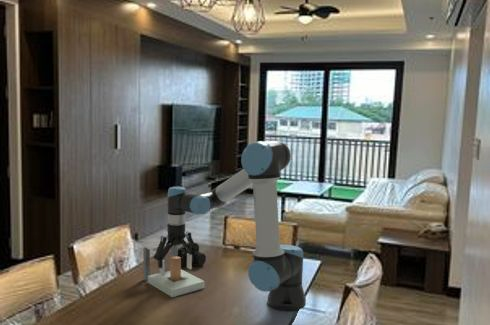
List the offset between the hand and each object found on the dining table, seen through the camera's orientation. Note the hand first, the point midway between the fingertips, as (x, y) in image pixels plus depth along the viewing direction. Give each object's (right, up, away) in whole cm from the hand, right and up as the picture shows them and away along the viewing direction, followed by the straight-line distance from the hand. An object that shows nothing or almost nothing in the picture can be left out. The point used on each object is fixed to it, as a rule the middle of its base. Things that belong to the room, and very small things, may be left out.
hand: (175, 271), depth 192 cm
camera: (+4, -4, +27) cm, 27 cm away
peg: (0, -6, +1) cm, 6 cm away
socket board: (0, -6, +1) cm, 6 cm away
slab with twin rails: (-7, -5, +8) cm, 12 cm away
